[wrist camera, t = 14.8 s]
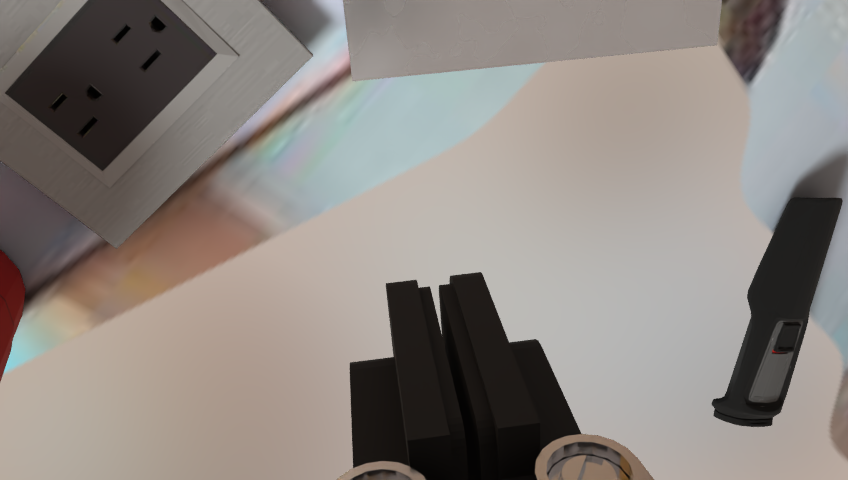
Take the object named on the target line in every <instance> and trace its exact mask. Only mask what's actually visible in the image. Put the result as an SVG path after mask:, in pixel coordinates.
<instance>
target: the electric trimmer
mask: <svg viewBox="0 0 848 480" xmlns="http://www.w3.org/2000/svg"><path fill="white" fill-rule="evenodd" d="M842 202H843V201H842V198H793V199H791V200H790V201H789V203H788V204H787V206H786V209H785V211H784V213H783V215H782V217H781V219H780V222H779V224H778V226H777V228H776V230H775V232H774V234H773V237H772V239H771V241H770V243H769V245H768V247H767V249H766V252H765V254H764V256H763V258H762V260H761V262H760V265H759V267H758V269H757V271H756V274H755V276H754V278H753V281H752V283H751V285H750V288H749V290H748V295H747V298H748V302H749V306H750V310H751V319H750V322H749V325H748V328H747V331H746V334H745V337H744V341H743V343H742V347H741V350H740V353H739V356H738V359H737V362H736V365H735V368H734V371H733V374H732V377H731V380H730V383H729V386H728V389H727V392H726V394H725V396H724V397H722V398H719V399H718V398H717V399H714V400H713V402H712V405H713V406H714V408H715V411H714V416H715V417H716V418H718V419H721V420H723V421H726V422H729V423H732V424H736V425H741V426H751V427H765V426H771V425H772V420H773V417H774V416H776V415H777V414H779V413H780V412H781V409H782V406H783V403H784V400H785V397H786V395H787V392H788V388H789V385H790V382H791V378H792V375H793V371H794V368H795V365H796V361H797V358H798V355H799V351H800V348H801V344H802V341H803V338H804V334H805V331H806V327H807V323H808V317H809V311H810V306H811V303H812V300H813V297H814V293H815V290H816V287H817V284H818V280H819V277H820V274H821V271H822V267H823V264H824V261H825V258H826V254H827V251H828V248H829V245H830V241H831V238H832V235H833V232H834V228H835V225H836V222H837V219H838V215H839V212H840V209H841V206H842Z"/></svg>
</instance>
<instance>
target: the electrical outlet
mask: <svg viewBox="0 0 848 480" xmlns="http://www.w3.org/2000/svg"><path fill="white" fill-rule="evenodd" d="M312 56H313V54H312V53H311V52H310V51H309V50H308V49H307V48H306V47H305V46H304V45H303V44H302V43H301V42H300V41H299V40H298V39H297V38H296V37H295V36H294V35H293V34H292V33H291V32H290V31H289V30H288V29H287V27H286V26H285V25H284V24H283V23H282V22H281V21H280V20H279V19H278V18H277V17H276V16H275V15H274V14H273V13H272V12H271V11H270V10H269V9H268V8H267V7H266V6H265V5H264V4H263V3H262V2H261V1H260V0H0V161H1V162H3V163H4V164H5V165H7V166H8V167H9V168H11V169H12V170H13V171H15V172H16V173H17V174H19V175H20V176H21V177H23V178H24V179H25V180H26V181H28V182H29V183H30V184H32V185H33V186H34V187H36V188H37V189H38V190H40V191H41V192H42V193H44V194H45V195H46V196H48V197H49V198H50V199H52V200H53V201H54V202H56V203H57V204H58V205H59V206H61V207H62V208H63V209H65V210H66V211H67V212H69V213H70V214H71V215H73V216H74V217H75V218H77V219H78V220H79V221H81V222H82V223H83V224H85V225H86V226H87V227H89V228H90V229H91V230H93V231H94V232H95V233H96V234H98V235H99V236H100V237H102V238H103V239H104V240H106V241H107V242H108V243H110V244H111V245H112V246H114V247H115V248H116V249H117V248H118V247H119V246H120V245H121V244H122V243H123V242H124V241H125V240H126V239H127V238H128V237H129V236H130V235H131V234H132V233H133V232H134V231H135V230H136V229H137V228H138V227H139V226H140V225H141V224H142V223H143V222H145V221H146V220H147V219H148V218H149V217H150V216H151V215H152V214H153V213H154V212H155V211H156V210H157V209H158V208H159V207H160V206H161V205H162V204H163V203H164V202H165V201H166V200H167V199H168V198H169V197H170V196H171V195H172V194H173V193H174V192H175V191H176V190H177V189H178V188H179V187H180V186H181V185H182V184H183V183H184V182H185V181H186V180H187V179H188V178H189V177H190V176H191V175H192V174H193V173H194V172H195V171H196V170H197V169H198V168H199V167H200V166H201V165H202V164H203V163H204V162H206V161H207V160H208V159H209V158H210V157H211V156H212V155H213V154H214V153H215V152H216V151H217V150H218V149H219V148H220V147H221V146H222V145H223V144H224V143H225V142H226V141H227V140H228V139H229V138H230V137H231V136H232V135H233V134H234V133H235V132H236V131H237V130H238V129H239V128H240V127H241V126H242V125H243V124H244V123H245V122H246V121H247V120H248V119H249V118H250V117H251V116H252V115H253V114H254V113H255V112H256V111H257V110H258V109H259V108H260V107H261V106H262V105H263V104H264V103H266V102H267V101H268V100H269V99H270V98H271V97H272V96H273V95H274V94H275V93H276V92H277V91H278V90H279V89H280V88H281V87H282V86H283V85H284V84H285V83H286V82H287V81H288V80H289V79H290V78H291V77H292V76H293V75H294V74H295V73H296V72H297V71H298V70H299V69H300V68H301V67H302V66H303V65H304V64H305V63H306V62H307V61H308V60H309V59H310V58H311V57H312Z"/></svg>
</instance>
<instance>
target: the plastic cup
mask: <svg viewBox="0 0 848 480" xmlns="http://www.w3.org/2000/svg"><path fill="white" fill-rule="evenodd" d="M24 299H25V286H24V283H23V280H22V277H21V274H20V271H19V269H18V268H17V267H16V266H15V265H14V263H13V262H12V261H11V260H10V259H9V258H8V256H7V255H6V254H5V253H4V252H3V251H1V250H0V381H1V378H2V375H3V372H4V369H5V366H6V363H7V361H8V358H9V355H10V352H11V347H12V340H13V337H14V335H15V332H16V330H17V327H18V325H19V322H20V319H21V317H22V312H23V305H24Z"/></svg>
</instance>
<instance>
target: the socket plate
mask: <svg viewBox="0 0 848 480" xmlns="http://www.w3.org/2000/svg"><path fill="white" fill-rule="evenodd" d="M343 4H344V12H345V21H346V30H347V38H348V47H349V55H350V64H351V73H352V81H360V80H370V79H380V78H390V77H400V76H411V75H421V74H431V73H441V72H451V71H461V70H471V69H482V68H492V67H502V66H512V65H522V64H532V63H542V62H552V61H563V60H573V59H583V58H593V57H603V56H613V55H623V54H633V53H643V52H654V51H664V50H674V49H684V48H694V47H704V46H714V45H717V41H718V32H719V23H720V13H721V4H722V0H343Z"/></svg>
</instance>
